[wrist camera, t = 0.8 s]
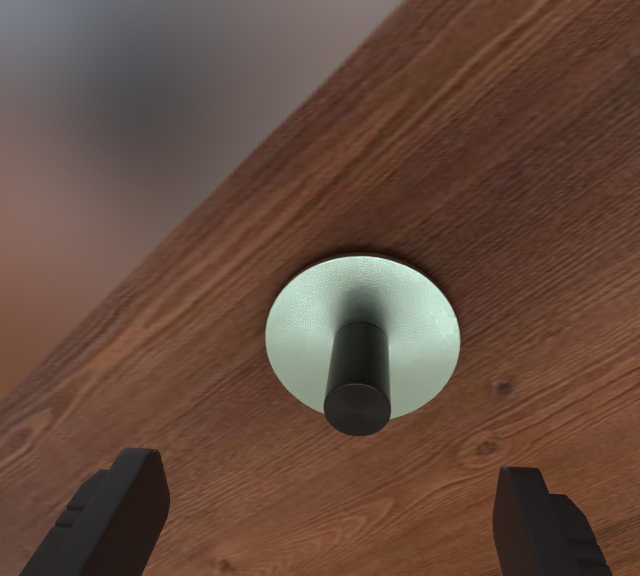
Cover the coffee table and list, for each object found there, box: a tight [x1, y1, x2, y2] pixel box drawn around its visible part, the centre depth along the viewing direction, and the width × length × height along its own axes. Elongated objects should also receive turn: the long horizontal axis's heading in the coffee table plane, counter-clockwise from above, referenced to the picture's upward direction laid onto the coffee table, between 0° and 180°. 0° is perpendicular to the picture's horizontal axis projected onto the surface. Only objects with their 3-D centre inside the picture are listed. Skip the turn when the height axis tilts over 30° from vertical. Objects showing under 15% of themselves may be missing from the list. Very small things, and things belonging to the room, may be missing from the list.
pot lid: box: [265, 252, 461, 436], centre depth 26 cm, size 11×11×7 cm
